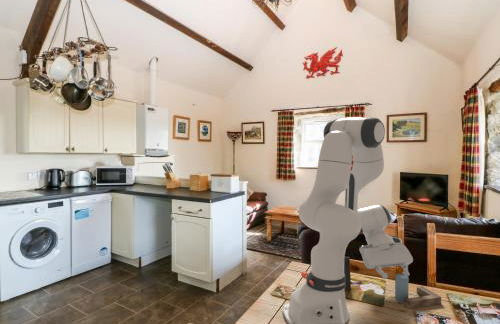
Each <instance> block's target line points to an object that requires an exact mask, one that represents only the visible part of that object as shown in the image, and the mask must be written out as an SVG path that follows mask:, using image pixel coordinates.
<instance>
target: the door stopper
mask: <svg viewBox="0 0 500 324" xmlns="http://www.w3.org/2000/svg"><path fill="white" fill-rule="evenodd" d="M350 259H351V258H350V256H347V255H346V256H345V257H344V274H345V279H346V287H345V290H347V289H349V290H350V291H351V290H352V283H351V260H350ZM349 290H348V291H349Z"/></svg>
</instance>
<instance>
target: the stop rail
mask: <svg viewBox="0 0 500 324" xmlns="http://www.w3.org/2000/svg"><path fill="white" fill-rule="evenodd" d="M416 294H417V295H420V296H415V297H408V298H406V299H405V303H404V305H405V306H406V307H407V308H408V309H414V308H415V309H416V308H421V307H429V306H430V307H431V306H435V305H441V304H442V296H440V295H438V294H437V293H434V291H432V290H430V289H428V288H426V287H424V286H423V285H421V286H416Z"/></svg>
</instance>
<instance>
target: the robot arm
mask: <svg viewBox="0 0 500 324" xmlns="http://www.w3.org/2000/svg"><path fill="white" fill-rule="evenodd" d="M385 135H386V130H385V125H384V123H383V122H382V120H381V119H380V118H377V117H372V116H368V117H344V118H336V119H335V118H334V119H332V120H329V121H327V123H326V124H325V126H324V129H323V140H322V143H321V148H320V151H319V154H318V162H317V169H316V176H315V181H314V183H313V184H314V185H313V187H312V190H311V192H310V194H309V195H308V197H307V198H306V200H305V201H303V202H302V203H301V204H300V206H299V209H298V217H299V220H300V221H301V222H302V223H303V224H304V225H305V226H307V227H308V228H309V229H310V230H311V229H312V230H313V231H316V232H319V241H318V243H317V244H316V245H314V246H313V247H312V249H311V251H310V265H311V266H310V271H309V273H308V272H306V271H305V270H303V271H302V272H301V274H300V275H301V276H302V278H303V279H304V280H305V282H304V283H303V284H302V285H300V286H299V287H298V288H297V289H295V290H294V291H293V292H292V293H291V295H290V297H289V302H288V303H286V304H284V305H283V308H282V312H283V313H282V314H283V317H284V318H285V321H286V322H287V323H288V324H347V323H348V321H349V319H350V313H349V310H348V306H347V301H346V293H345V291H346V289H345V287H346V279H345V274H344V257H345V255H346V249H347V247H348V245H349V243H350V242H351V241H353V240H355V239H356V238H357V237H358V235H361V234H363V235H364V236H365V241H366V243H367V244H365V245H361V246H359V252H360V253H359V254H361V257H362V261H363V264H364V266H365V268H366V269H367V270H371V269H372V270H373V269H374V270H375V271H376V272H377V273H378V274H379V275H380V276H381V277H382V279H383V280H388V278H389V275H388V273H387V272H384V270H383V268H389V267H398V266H399V267H400V268H401V269H402V270H403V271H402V273H401V274H403V275H406V276H408V277H409V276H410V272H409V265H411V263H413V261H414V258H413V256H412V254H411V252H410V251H409V249H408V248H407V247H406V245H405V244H403V240H402V238H399V237H395V236H391V235H388V233H387V232H386V231H385V229H386V228H387V227H388V226H389V225H390V223H391V221H392V216H391V214H390V211H389V210H388V209H387V208H386V207H385V206H384V205H382V204H375V205H369V206H367V207H366V206H365V207H362V208H361V207H360V208H358V200H359V193H360V191H361V190H362V189H363V188H364V187H366V186H367V185H369V184H370V183H372V182H374V181H375V180H377V179H378V178H379V177H380V176H381V175H382V173H383V172H384V169H385V162H384V161H385V160H384V152H383V147H382V142H383V141H384V139H385ZM344 191H345V192H344ZM343 192H344V193H345V194H344V196H345V197H344V205H342V204H338V203H337V201H338V198H339V196H340V195H341V193H343Z"/></svg>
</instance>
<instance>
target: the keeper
mask: <svg viewBox="0 0 500 324" xmlns="http://www.w3.org/2000/svg"><path fill="white" fill-rule="evenodd" d="M394 276H395V277H394V299H395V301H396V302H398V303H401V304H405V299H406V298H409V281H410V278H409V276H406V275H403V273H396V274H395V275H394Z"/></svg>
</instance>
